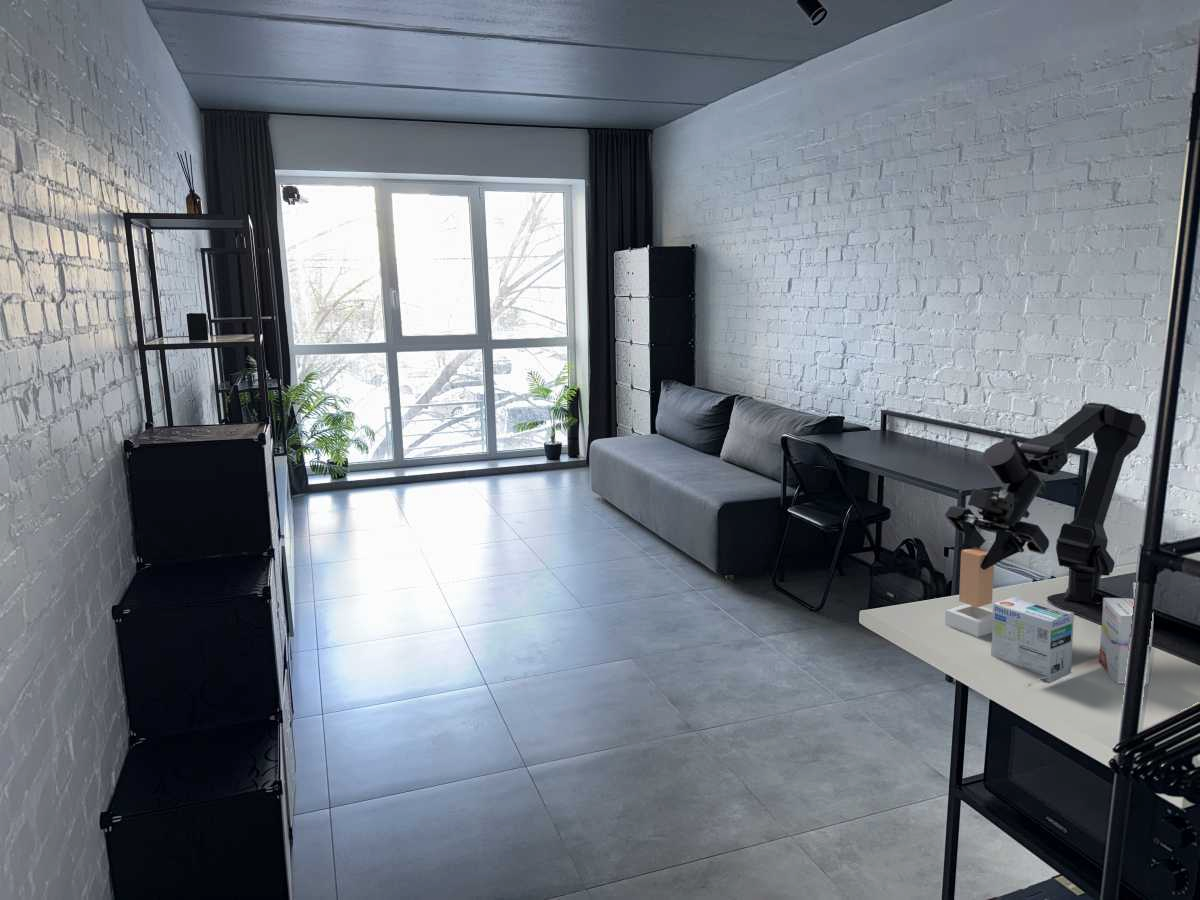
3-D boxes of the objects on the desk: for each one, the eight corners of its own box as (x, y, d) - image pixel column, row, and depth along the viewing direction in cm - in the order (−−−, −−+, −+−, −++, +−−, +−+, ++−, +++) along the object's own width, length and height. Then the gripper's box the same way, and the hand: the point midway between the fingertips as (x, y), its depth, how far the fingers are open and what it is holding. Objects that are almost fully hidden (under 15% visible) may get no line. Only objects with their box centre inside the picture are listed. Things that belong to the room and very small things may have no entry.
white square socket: (970, 617, 165) (971, 602, 164) (1004, 629, 159) (1004, 614, 158) (944, 625, 162) (945, 610, 161) (977, 637, 155) (978, 622, 155)
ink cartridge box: (1096, 661, 146) (1102, 579, 144) (1128, 663, 145) (1135, 580, 143) (1115, 684, 138) (1122, 597, 135) (1149, 686, 137) (1157, 598, 134)
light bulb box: (1072, 673, 142) (1076, 612, 140) (1048, 684, 139) (1052, 621, 137) (1012, 652, 151) (1015, 594, 149) (988, 662, 148) (991, 602, 146)
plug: (973, 596, 162) (975, 547, 160) (992, 603, 158) (994, 552, 157) (958, 601, 160) (961, 550, 158) (977, 607, 157) (979, 555, 155)
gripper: (953, 464, 165) (910, 529, 162) (1042, 481, 149) (997, 553, 146) (979, 498, 170) (938, 561, 167) (1068, 518, 154) (1025, 588, 151)
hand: (972, 565), depth 157 cm, fingers closed on plug, 4 cm apart
